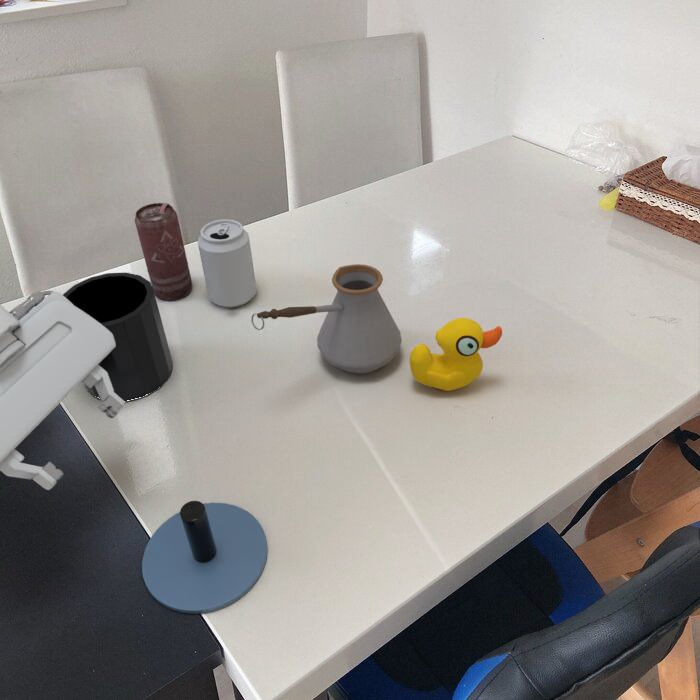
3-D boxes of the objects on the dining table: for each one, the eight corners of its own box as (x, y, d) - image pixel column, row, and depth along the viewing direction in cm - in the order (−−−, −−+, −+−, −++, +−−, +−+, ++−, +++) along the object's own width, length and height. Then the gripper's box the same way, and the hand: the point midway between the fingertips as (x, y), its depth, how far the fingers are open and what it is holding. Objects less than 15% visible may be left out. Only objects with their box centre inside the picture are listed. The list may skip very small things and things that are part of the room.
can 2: (201, 307, 104) (186, 239, 96) (220, 280, 109) (207, 213, 102) (247, 313, 102) (236, 244, 95) (264, 285, 108) (254, 218, 100)
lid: (158, 638, 64) (138, 591, 58) (134, 534, 72) (114, 485, 67) (285, 585, 67) (276, 537, 62) (246, 493, 76) (236, 444, 71)
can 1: (200, 281, 109) (183, 202, 100) (182, 304, 105) (163, 223, 96) (165, 276, 111) (146, 198, 102) (147, 298, 106) (125, 219, 97)
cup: (92, 413, 87) (62, 337, 79) (80, 360, 95) (52, 286, 87) (181, 386, 90) (161, 310, 82) (162, 337, 98) (143, 264, 90)
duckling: (490, 366, 91) (498, 306, 85) (499, 394, 87) (508, 333, 81) (406, 372, 91) (408, 312, 85) (411, 399, 87) (413, 339, 80)
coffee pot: (362, 319, 100) (360, 230, 90) (418, 356, 93) (422, 264, 84) (242, 387, 90) (225, 294, 80) (295, 434, 83) (283, 339, 73)
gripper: (36, 296, 70) (138, 386, 74) (-134, 434, 56) (3, 538, 59) (57, 267, 66) (164, 363, 69) (-121, 408, 52) (26, 521, 55)
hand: (89, 445), depth 64 cm, fingers open, 8 cm apart
